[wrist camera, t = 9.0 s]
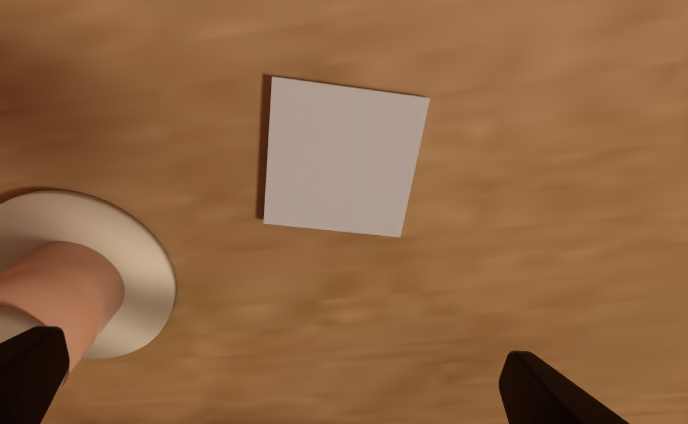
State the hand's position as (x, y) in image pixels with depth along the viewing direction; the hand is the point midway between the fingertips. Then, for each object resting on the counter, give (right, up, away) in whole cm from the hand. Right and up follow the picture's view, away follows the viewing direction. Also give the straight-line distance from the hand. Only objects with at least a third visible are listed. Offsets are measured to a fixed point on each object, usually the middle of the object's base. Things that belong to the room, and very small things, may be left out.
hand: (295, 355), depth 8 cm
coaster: (-13, -1, +13) cm, 18 cm away
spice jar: (-13, -1, +12) cm, 18 cm away
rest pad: (+1, +5, +11) cm, 12 cm away
